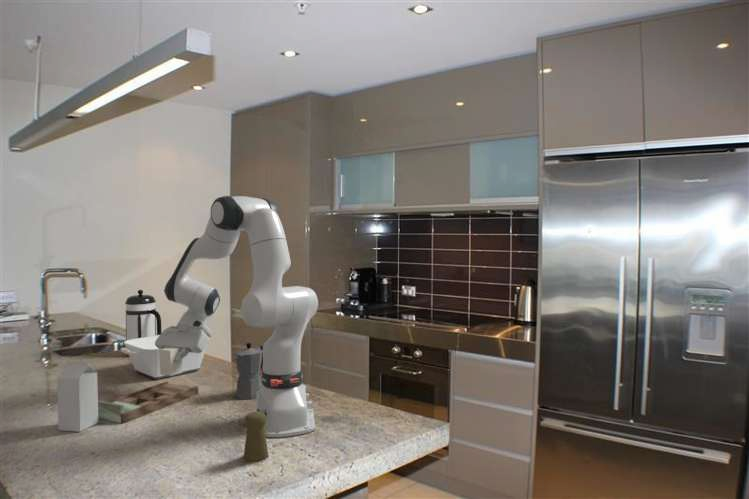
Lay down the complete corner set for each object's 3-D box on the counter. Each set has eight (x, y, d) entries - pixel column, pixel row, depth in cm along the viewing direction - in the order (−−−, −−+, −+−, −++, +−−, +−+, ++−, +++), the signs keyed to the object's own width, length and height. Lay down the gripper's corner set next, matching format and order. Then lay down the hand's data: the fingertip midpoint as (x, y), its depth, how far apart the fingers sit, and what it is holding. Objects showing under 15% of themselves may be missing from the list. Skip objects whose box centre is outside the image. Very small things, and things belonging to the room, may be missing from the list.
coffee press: (119, 360, 224) (118, 292, 223) (127, 352, 240) (126, 288, 239) (161, 357, 229) (160, 290, 228) (167, 349, 244) (165, 287, 243)
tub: (139, 388, 183) (138, 352, 183) (109, 374, 201) (109, 342, 201) (223, 369, 208) (222, 338, 208) (190, 358, 226) (189, 330, 226)
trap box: (166, 388, 182) (166, 374, 182) (198, 393, 176) (198, 379, 175) (88, 416, 155) (88, 399, 154) (123, 423, 148) (122, 406, 148)
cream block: (171, 371, 177) (170, 346, 177) (182, 372, 175) (181, 347, 175) (160, 374, 172) (159, 349, 172) (171, 375, 170) (170, 350, 170)
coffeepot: (248, 403, 166) (248, 348, 165) (225, 399, 169) (224, 345, 169) (275, 389, 180) (275, 339, 179) (253, 386, 184) (253, 337, 183)
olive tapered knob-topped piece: (270, 451, 128) (269, 408, 128) (266, 462, 122) (265, 417, 122) (246, 452, 128) (245, 409, 128) (240, 463, 122) (240, 417, 122)
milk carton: (80, 432, 142) (78, 364, 141) (58, 430, 143) (56, 363, 143) (98, 423, 149) (97, 358, 148) (77, 421, 150) (76, 357, 150)
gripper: (163, 320, 184) (142, 353, 175) (207, 323, 175) (186, 357, 167) (173, 330, 188) (152, 363, 179) (216, 333, 180) (197, 368, 171)
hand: (169, 360), depth 173 cm, fingers closed on cream block, 5 cm apart
